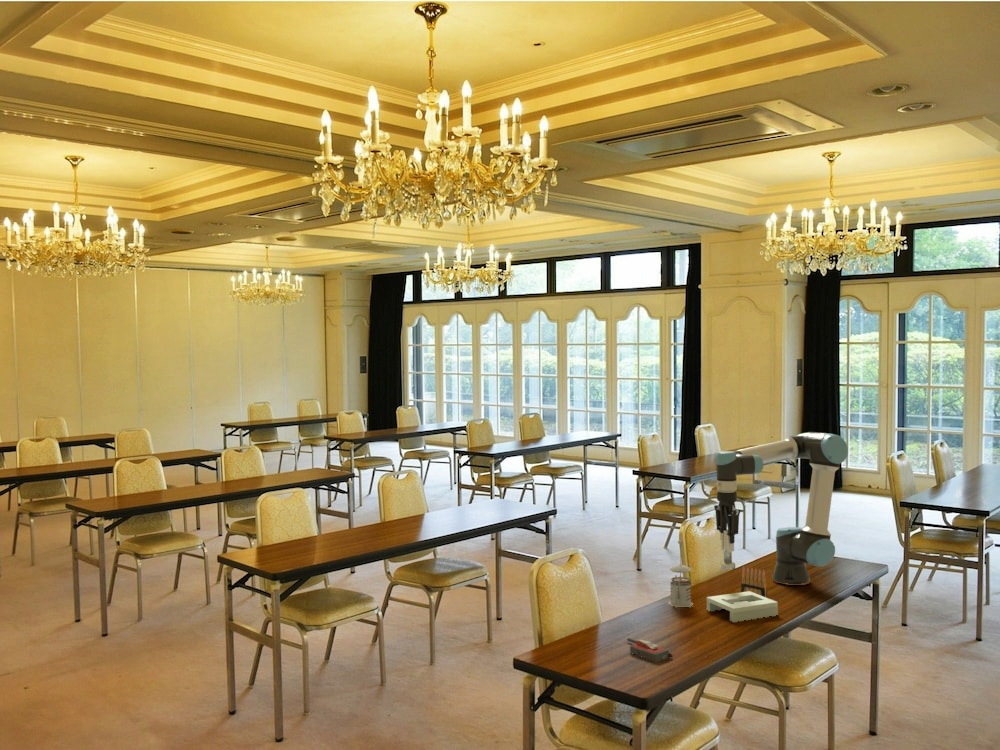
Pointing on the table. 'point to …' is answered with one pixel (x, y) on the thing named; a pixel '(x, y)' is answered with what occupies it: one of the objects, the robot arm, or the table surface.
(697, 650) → the table surface
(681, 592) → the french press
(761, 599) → the keyhole board
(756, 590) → the ammunition clip
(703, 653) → the table surface
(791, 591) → the table surface
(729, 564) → the steel peg
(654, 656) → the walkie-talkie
